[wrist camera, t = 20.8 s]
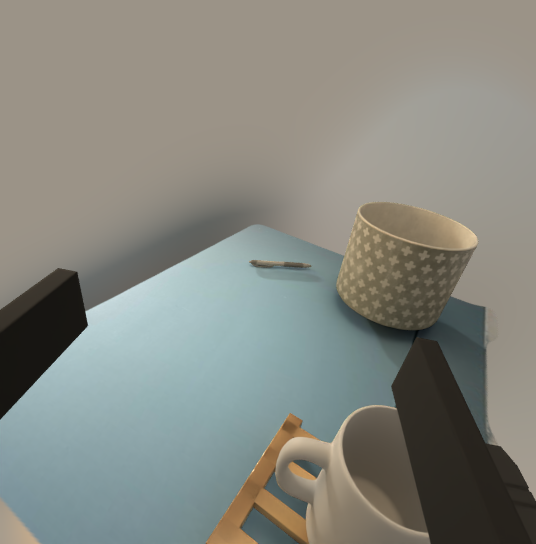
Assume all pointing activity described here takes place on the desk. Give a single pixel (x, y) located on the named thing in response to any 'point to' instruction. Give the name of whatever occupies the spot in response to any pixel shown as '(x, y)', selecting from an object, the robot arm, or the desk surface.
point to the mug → (358, 483)
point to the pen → (277, 264)
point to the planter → (403, 264)
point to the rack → (265, 495)
